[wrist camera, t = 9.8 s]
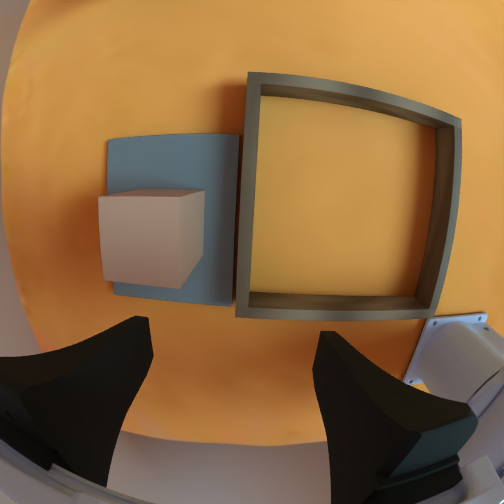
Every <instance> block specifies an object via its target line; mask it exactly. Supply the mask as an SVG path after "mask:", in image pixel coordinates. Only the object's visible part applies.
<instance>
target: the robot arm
mask: <svg viewBox="0 0 504 504" xmlns="http://www.w3.org/2000/svg"><path fill="white" fill-rule="evenodd" d="M487 316H488V315H487V313H485V312H484V313H475V314H465V315H454V316H442V317H434V318H428V319H427V320H426V322H425V325H424V328H423V331H422V334H421V337H420V339H419V342H418V345H417V347H416V350H415V352H414V355H413V357H412V360H411V362H410V365H409V367H408V369H407V372H406V374H405V376H404V378H403V380H402V381H400V380H398V379H397V378H395V377H393V376H391V375H390V374H388V373H386V372H385V371H383V370H382V369H381V368H379V367H378V366H376V365H375V364H374V363H372V362H371V361H370V360H368V359H367V358H366V357H365V356H363V355H362V354H361V353H360V352H359V351H357V350H356V349H355V348H354V347H353V346H352V345H350V344H349V343H348V342H347V341H346V340H345V339H344V338H342V337H341V336H340V335H339V334H338V333H336V332H335V331H321V332H320V337H319V342H318V346H317V351H316V355H315V360H314V364H313V368H312V370H313V380H314V388H315V392H316V396H317V400H318V404H319V407H320V411H321V415H322V419H323V423H324V427H325V431H326V436H327V443H328V452H329V462H330V477H331V504H501V503H502V502H503V501H504V468H503V467H504V338H503V337H502V336H501V335H500V334H498V333H497V332H496V331H495V330H494V329H493V328H491V327H490V326H489V325H488V324H486V323H485V322H486V319H487ZM153 356H154V355H153V348H152V342H151V335H150V327H149V319H148V317H141V316H134V317H131V318H129V319H127V320H125V321H123V322H121V323H119V324H117V325H115V326H113V327H111V328H109V329H107V330H105V331H103V332H101V333H99V334H97V335H95V336H93V337H91V338H88V339H86V340H84V341H82V342H79V343H77V344H74V345H71V346H68V347H65V348H62V349H59V350H55V351H50V352H46V353H42V354H36V355H30V356H20V357H0V489H1V490H2V491H3V492H4V493H5V494H7V495H8V496H9V497H10V498H11V499H13V500H14V501H15V502H17V503H18V504H154V503H151V502H147V501H143V500H140V499H136V498H134V497H130V496H127V495H124V494H121V493H119V492H116V491H113V490H110V489H108V488H106V486H107V480H108V475H109V469H110V465H111V461H112V456H113V452H114V449H115V445H116V441H117V439H118V435H119V432H120V429H121V427H122V424H123V421H124V418H125V416H126V414H127V411H128V409H129V407H130V406H131V404H132V402H133V400H134V398H135V396H136V394H137V392H138V391H139V389H140V387H141V385H142V383H143V381H144V379H145V377H146V375H147V373H148V371H149V368H150V365H151V362H152V359H153ZM418 383H424V384H425V386H426V387H427V389H428V390H429V392H430V393H431V394H429V393H426V392H424V391H421V390H419V389H417V388H414V387H412V386H410V385H412V384H418ZM502 468H503V469H502Z"/></svg>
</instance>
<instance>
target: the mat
mask: <svg viewBox="0 0 504 504" xmlns="http://www.w3.org/2000/svg"><path fill="white" fill-rule="evenodd" d="M239 146H240V134H171V135H153V136H139V137H128V138H118V139H110V140H109V142H108V160H107V195H110V194H116V193H122V192H128V191H134V190H141V189H187V190H205V210H204V248H203V256H202V257H201V259H200V260H199V262H198V263H197V265H196V266H195V268H194V269H193V271H192V272H191V273H190V275H189V276H188V278H187V279H186V281H185V282H184V284H183V285H182V287H181V288H180V289H175V288H165V287H156V286H147V285H138V284H130V283H122V282H114V281H113V288H114V294H116V295H124V296H131V297H139V298H147V299H156V300H165V301H174V302H184V303H195V304H206V305H218V306H232V303H233V274H234V247H235V224H236V202H237V182H238V164H239Z"/></svg>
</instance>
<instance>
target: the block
mask: <svg viewBox="0 0 504 504" xmlns="http://www.w3.org/2000/svg"><path fill="white" fill-rule="evenodd" d="M98 209H99V233H100V248H101V259H102V269H103V277H104V280H106V281H114V282H122V283H130V284H138V285H147V286H156V287H165V288H175V289H180V288H181V287H182V285H183V284H184V282H185V281H186V279H187V278H188V276H189V275H190V273H191V272H192V271H193V269H194V268H195V266H196V265H197V263H198V262H199V260H200V259H201V257H202V256H203V248H204V210H205V190H187V189H141V190H134V191H128V192H122V193H116V194H110V195H105V196H100V197H98Z"/></svg>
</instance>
